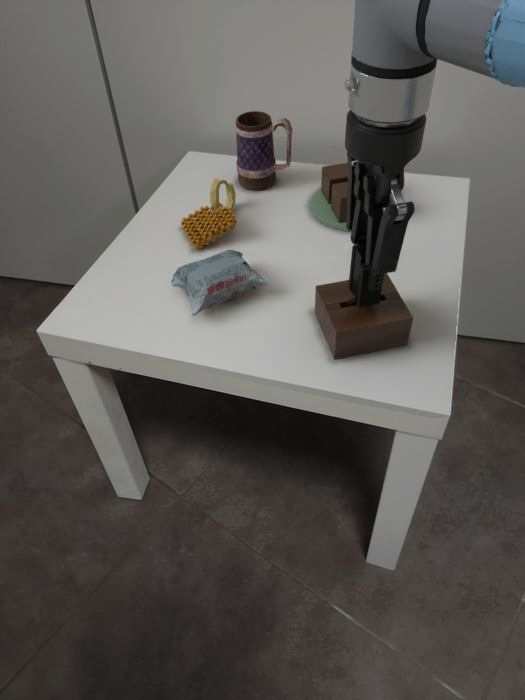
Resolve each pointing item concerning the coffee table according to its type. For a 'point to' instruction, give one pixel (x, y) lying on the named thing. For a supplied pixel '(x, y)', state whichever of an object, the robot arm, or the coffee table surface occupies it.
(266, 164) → the mug
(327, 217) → the green disc stand
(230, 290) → the packaged food
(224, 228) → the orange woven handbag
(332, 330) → the knife block
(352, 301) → the knife
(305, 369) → the coffee table surface
